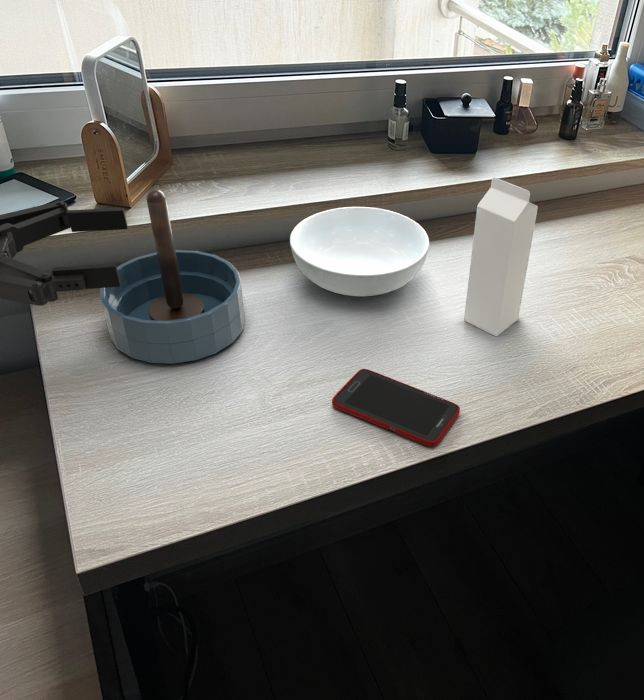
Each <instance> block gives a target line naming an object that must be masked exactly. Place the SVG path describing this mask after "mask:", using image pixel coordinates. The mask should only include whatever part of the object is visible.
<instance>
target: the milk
mask: <svg viewBox="0 0 644 700" xmlns="http://www.w3.org/2000/svg"><path fill="white" fill-rule="evenodd" d="M530 197H531V192H530V191H529V190H528V189H525V188H523V187H520V186H518V185H516V184H513V183H511V182H508V181H505V180H504V179H500V178H498V177H495V176H494V177H492V178H491V182H490V187H489V189H488V190H487V192H485V194H484V196H483V197H482V199H480V201H479V202H478V204H477V206H476V213H475V223H474V229H473V230H474V231H473V238H472V246H471V247H472V248H471V256H470V265H469V273H468V280H467V281H468V282H467V289H466V298H465V306H464V315H463V321H464V322H467V323H468V324H470V325H472V326H474V327H476V328H478V329H481V330H483V332H486V333H488V334H491V335H493V336H494V337H498V336H499V335H501V334H502V333H504V332H505V330H507V329H509V327H510V326H512V325H513V324H514V323H515V322H517V321H518V320H519V317H520V312H521V306H522V300H523V294H524V289H525V283H526V277H527V271H528V265H529V259H530V255H531V248H532V243H533V238H534V231H535V226H536V220H537V215H538V208H539V206H538V205H536V204H535V203H532V202H530Z"/></svg>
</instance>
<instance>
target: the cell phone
mask: <svg viewBox="0 0 644 700" xmlns="http://www.w3.org/2000/svg"><path fill="white" fill-rule="evenodd" d="M331 406H332V407H333V408H336V409H337V410H340V411H342V412H345V413H347V414H350V415H352V416H354V417H356V418H359V419H362V420H364V421H366V422H369V423H370V424H374V425H377V426H379V427H381V428H384V429H386V430H388V431H391V432H394V433H395V434H397V435H400V436H402V437H405V438H407V439H409V440H412V441H414V442H417V443H418V444H419V443H420V444H422V445H424V446H427V447H431V448H433V447H436V446H437V445H438V444H440V442H441V440H442V439H443V438H444V436H445V435H446V434H447V432H448V430H449V429H450V428H451V426H453V424H454V422H455V421H456V420H457V418H458V416H459V415H460V412H461V407H460V406H459V405H458V404H457V403H455V402H452V401H451V400H448V399H445V398H442V397H440V396H437V395H435V394H432V393H429V392H427V391H424V390H422V389H420V388H417V387H415V386H411V385H410V384H406V383H404V382H402V381H398V380H396V379H395V378H391V377H389V376H387V375H384V374H381V373H379V372H376V371H373V370H371V369H367V368H361V369H359V370H358V371H357V372H355V374H354V375H352V377H350V379H349V380H348V381H347V382H346V383H345V384H344V385H343V386H342V387H341V388H340V389H339V390H338V392H336V394H334V396H333V397H332V398H331Z"/></svg>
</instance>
